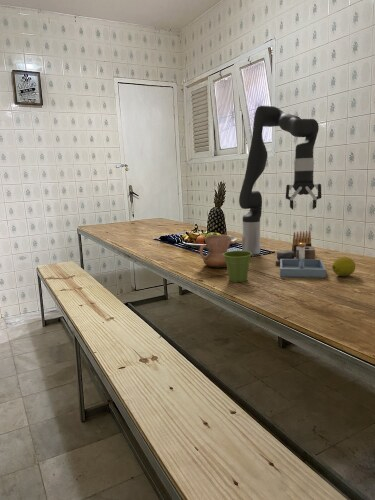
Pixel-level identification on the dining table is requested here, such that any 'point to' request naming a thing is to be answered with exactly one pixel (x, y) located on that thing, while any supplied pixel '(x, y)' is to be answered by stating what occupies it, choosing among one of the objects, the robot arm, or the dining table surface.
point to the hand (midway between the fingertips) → (302, 209)
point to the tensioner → (290, 254)
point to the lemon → (343, 266)
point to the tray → (311, 269)
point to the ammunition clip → (301, 240)
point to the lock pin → (301, 255)
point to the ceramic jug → (216, 250)
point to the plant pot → (237, 265)
